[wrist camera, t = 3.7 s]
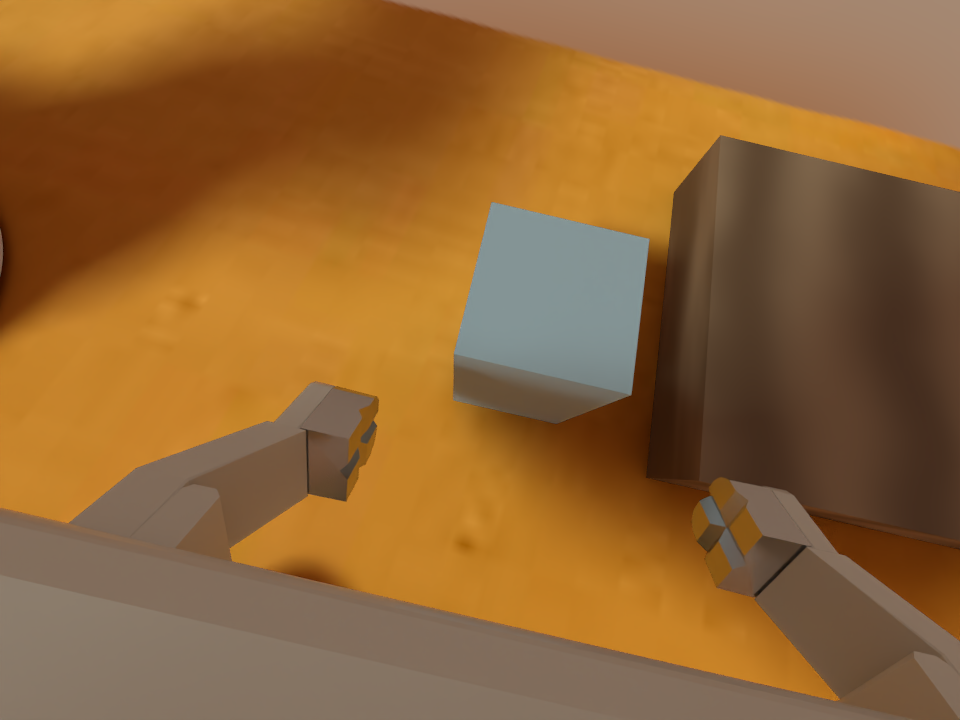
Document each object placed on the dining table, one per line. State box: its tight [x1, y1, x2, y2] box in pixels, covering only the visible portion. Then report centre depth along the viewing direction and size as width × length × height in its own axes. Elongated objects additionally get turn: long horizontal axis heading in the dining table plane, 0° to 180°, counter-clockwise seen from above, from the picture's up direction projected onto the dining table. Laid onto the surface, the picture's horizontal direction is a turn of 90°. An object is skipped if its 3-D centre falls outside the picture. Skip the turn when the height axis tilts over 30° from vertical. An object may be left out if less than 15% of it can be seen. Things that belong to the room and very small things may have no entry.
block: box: [453, 202, 649, 424], centre depth 15 cm, size 5×5×8 cm
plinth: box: [646, 135, 960, 549], centre depth 18 cm, size 16×16×4 cm
